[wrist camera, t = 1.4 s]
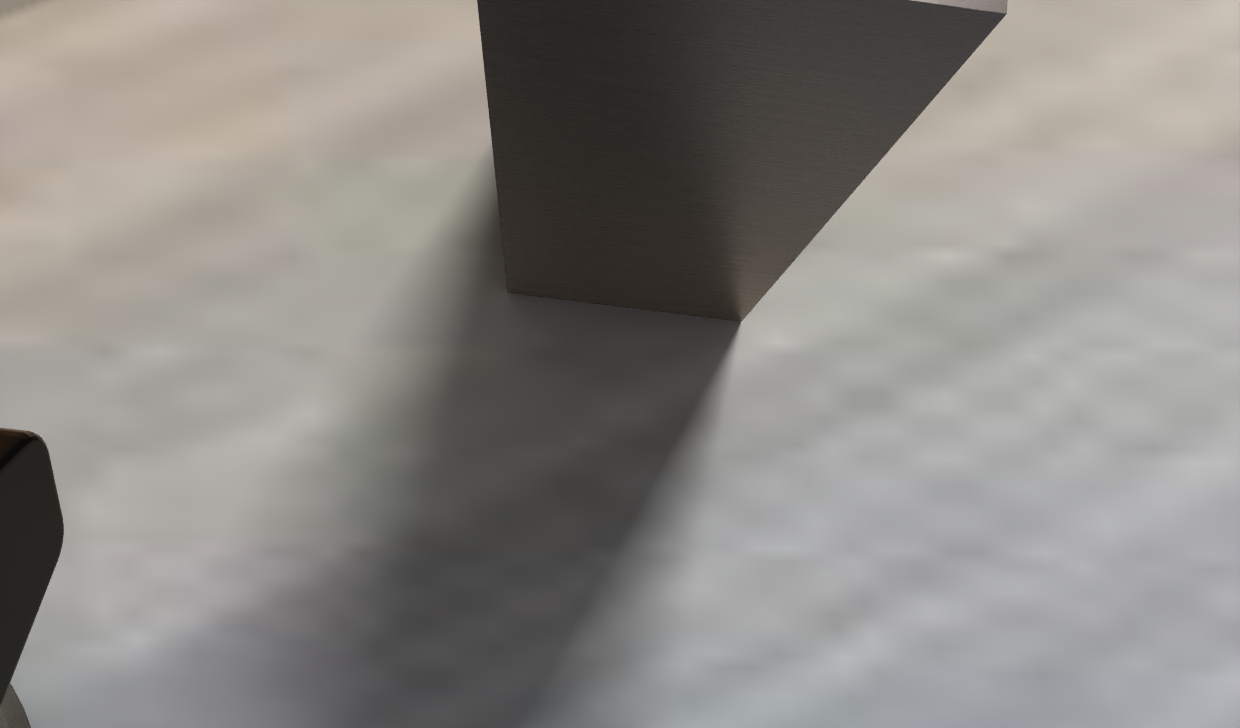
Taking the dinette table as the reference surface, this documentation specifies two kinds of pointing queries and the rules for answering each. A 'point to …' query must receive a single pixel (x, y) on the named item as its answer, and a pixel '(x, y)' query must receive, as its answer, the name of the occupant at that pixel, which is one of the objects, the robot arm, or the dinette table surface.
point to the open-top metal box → (697, 134)
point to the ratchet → (12, 711)
